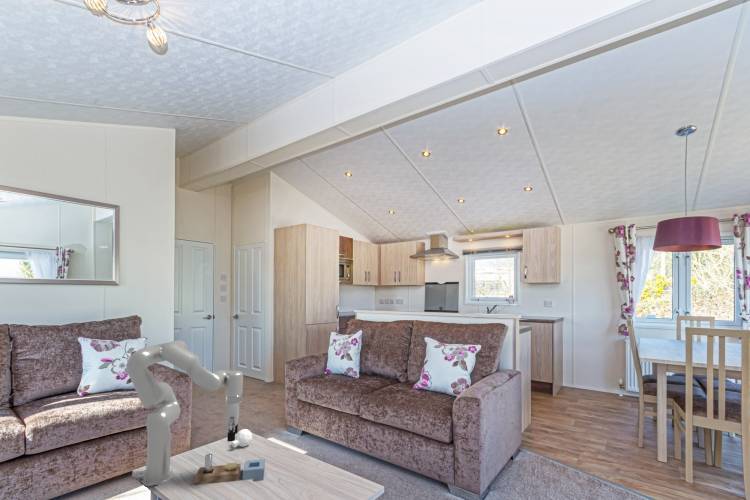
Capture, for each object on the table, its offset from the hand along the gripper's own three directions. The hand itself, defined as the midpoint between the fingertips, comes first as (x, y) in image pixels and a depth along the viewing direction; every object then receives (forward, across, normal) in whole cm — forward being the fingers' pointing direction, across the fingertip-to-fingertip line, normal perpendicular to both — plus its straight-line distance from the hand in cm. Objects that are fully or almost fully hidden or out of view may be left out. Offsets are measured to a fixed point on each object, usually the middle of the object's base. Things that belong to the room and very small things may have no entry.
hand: (232, 437), depth 179 cm
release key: (+17, 0, 0) cm, 17 cm away
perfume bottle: (+18, -36, 0) cm, 40 cm away
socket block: (+18, 0, -6) cm, 19 cm away
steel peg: (+17, 0, -10) cm, 20 cm away
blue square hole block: (+18, 0, +10) cm, 21 cm away
